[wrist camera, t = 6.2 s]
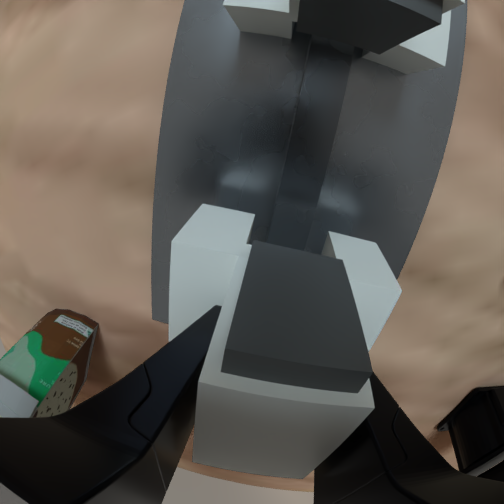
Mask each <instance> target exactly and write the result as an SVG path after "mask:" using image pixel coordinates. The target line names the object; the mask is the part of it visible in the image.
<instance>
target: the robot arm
mask: <svg viewBox="0 0 504 504" xmlns="http://www.w3.org/2000/svg"><path fill="white" fill-rule="evenodd" d="M221 308H222V306H219V305H215V306H213V307H212V308H211V309H210V310H208V311H207V312H206V313H205V314H204V315H202V316H201V317H200V318H199V319H197V320H196V321H195V322H194V323H192V324H191V325H190V326H189V327H187V328H186V329H185V330H184V331H182V332H181V333H180V334H179V335H177V336H176V337H175V338H174V339H172V340H171V341H170V342H169V343H167V344H166V345H165V346H164V347H162V348H161V349H160V350H159V351H157V352H156V353H155V354H154V355H152V356H151V357H150V358H148V359H147V360H146V361H145V362H144V363H143V364H141V365H139V366H138V367H137V368H136V369H134V370H133V371H132V372H130V373H129V374H128V375H126V376H125V377H123V378H122V379H121V380H119V381H118V382H116V383H114V384H113V385H111V386H110V387H108V388H106V389H105V390H103V391H101V392H100V393H98V394H96V395H94V396H93V397H91V398H89V399H87V400H86V401H84V402H82V403H80V404H79V405H77V406H75V407H73V408H71V409H70V410H68V411H66V412H63V413H61V414H58V415H54V416H50V417H31V418H10V417H0V504H162V501H163V499H164V496H165V494H166V491H167V489H168V487H169V484H170V482H171V480H172V477H173V475H174V472H175V470H176V468H177V465H178V463H179V460H180V458H181V455H182V453H183V451H184V448H185V446H186V443H187V441H188V438H189V436H190V434H191V431H192V429H193V426H194V424H195V413H196V401H197V390H198V381H199V377H200V374H201V371H202V368H203V365H204V362H205V358H206V355H207V352H208V349H209V346H210V343H211V340H212V336H213V333H214V330H215V327H216V324H217V321H218V318H219V315H220V311H221ZM369 379H370V384H371V390H372V395H373V400H374V406H375V408H374V409H373V411H372V412H371V413H370V414H369V415H368V416H367V417H366V418H365V420H364V421H363V422H362V423H361V424H360V425H359V426H358V427H357V428H356V429H355V430H354V431H353V432H352V433H351V434H350V435H349V437H348V438H347V439H346V440H345V441H344V442H343V443H342V444H341V445H340V446H339V447H338V448H337V449H335V450H334V451H333V452H332V453H331V454H330V455H329V456H328V457H327V458H326V459H325V460H324V461H323V462H322V463H321V464H319V465H318V466H317V467H316V468H315V469H314V504H504V386H498V387H484V388H476V389H475V390H473V391H472V392H471V393H470V394H469V395H468V397H467V398H466V399H465V400H464V401H463V402H462V403H461V404H460V405H459V406H458V407H457V408H456V409H455V410H454V411H453V412H452V413H451V414H450V415H449V416H448V417H447V418H446V419H445V420H444V421H443V422H442V423H441V424H439V425H438V426H437V430H438V431H447V430H449V433H450V437H451V440H452V444H453V448H454V451H455V455H456V459H457V463H458V468H459V471H458V470H456V469H454V468H453V467H452V466H451V465H450V464H449V463H448V462H447V461H446V460H445V459H444V458H443V457H442V456H441V455H440V454H439V453H438V451H437V450H436V449H435V448H434V447H433V446H432V445H431V444H430V443H429V442H428V441H427V439H426V438H425V437H424V436H423V435H422V434H421V433H420V431H419V430H418V429H417V428H416V427H415V426H414V424H413V423H412V422H411V421H410V419H409V418H408V417H407V415H406V414H405V413H404V411H403V410H402V409H401V408H400V407H399V405H398V404H397V402H396V401H395V400H394V398H393V397H392V396H391V394H390V393H389V392H388V391H387V389H386V388H385V387H384V385H383V384H382V383H381V381H380V380H379V379H378V377H377V376H376V375H375V374H374V372H373V373H372V374H371V376H370V377H369ZM398 407H399V408H398ZM502 460H503V461H502ZM501 461H502V462H501ZM499 462H500V463H499ZM496 464H497V465H496ZM494 465H495V466H494ZM493 466H494V467H493ZM491 467H492V468H491ZM489 468H490V469H489ZM488 469H489V470H488ZM486 470H487V471H486ZM484 471H485V472H484ZM483 472H484V473H483ZM481 473H482V474H481ZM479 474H480V475H479ZM477 475H478V476H477Z"/></svg>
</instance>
